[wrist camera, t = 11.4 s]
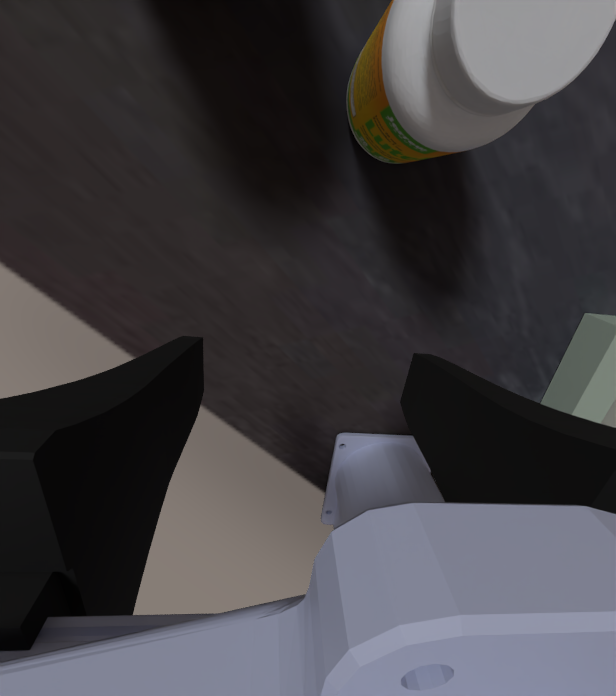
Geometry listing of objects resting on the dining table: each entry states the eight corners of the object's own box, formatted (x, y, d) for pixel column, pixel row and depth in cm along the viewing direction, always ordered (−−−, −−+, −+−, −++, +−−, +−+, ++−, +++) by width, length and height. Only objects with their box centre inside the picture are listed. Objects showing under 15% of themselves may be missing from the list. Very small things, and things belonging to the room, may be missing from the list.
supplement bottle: (333, 151, 17) (390, 109, 8) (361, 12, 15) (482, -253, 6) (431, 175, 18) (580, 161, 9) (472, 47, 15) (723, -140, 7)
